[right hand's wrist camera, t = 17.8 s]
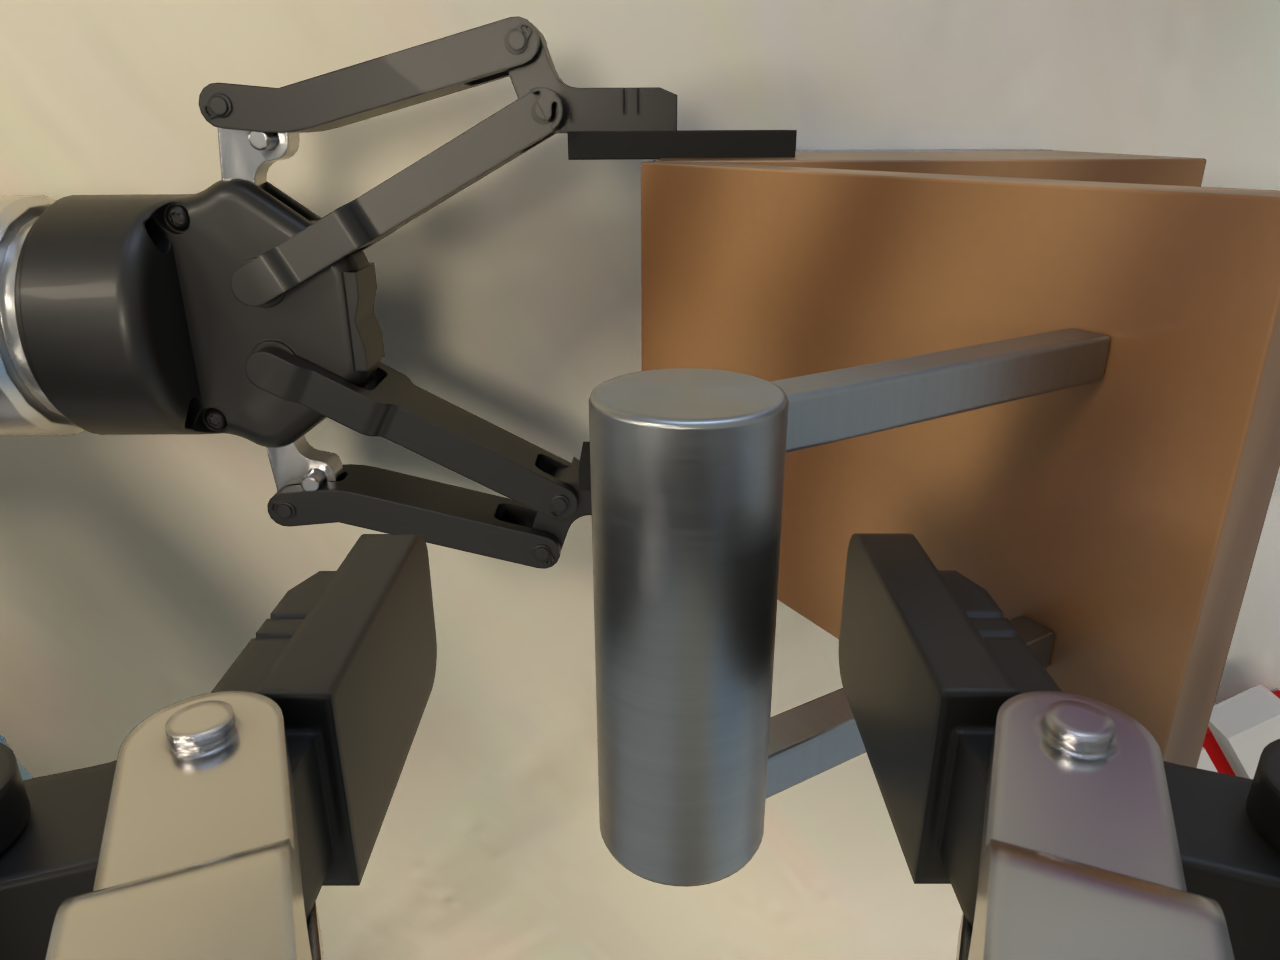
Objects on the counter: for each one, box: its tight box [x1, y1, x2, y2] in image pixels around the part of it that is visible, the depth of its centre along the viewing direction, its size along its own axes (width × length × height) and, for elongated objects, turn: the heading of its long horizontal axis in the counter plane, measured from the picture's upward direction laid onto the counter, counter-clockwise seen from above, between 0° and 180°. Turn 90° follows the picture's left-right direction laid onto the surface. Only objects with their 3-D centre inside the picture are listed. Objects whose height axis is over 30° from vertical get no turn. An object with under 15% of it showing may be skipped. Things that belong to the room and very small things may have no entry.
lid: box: [589, 161, 1280, 886], centre depth 17 cm, size 15×10×9 cm
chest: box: [655, 149, 1206, 187], centre depth 30 cm, size 14×10×11 cm
